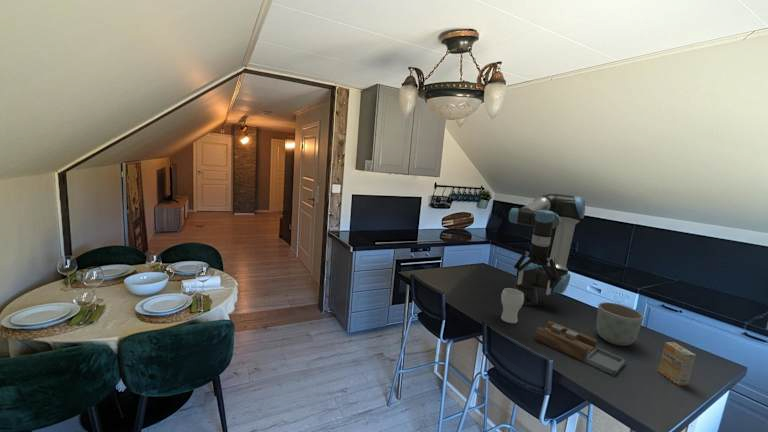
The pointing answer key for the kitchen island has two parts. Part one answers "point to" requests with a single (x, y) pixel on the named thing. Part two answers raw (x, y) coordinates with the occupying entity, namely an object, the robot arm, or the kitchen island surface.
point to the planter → (618, 323)
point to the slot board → (566, 342)
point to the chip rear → (557, 329)
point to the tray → (605, 361)
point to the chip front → (571, 335)
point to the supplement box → (676, 363)
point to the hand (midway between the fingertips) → (533, 289)
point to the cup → (511, 304)
